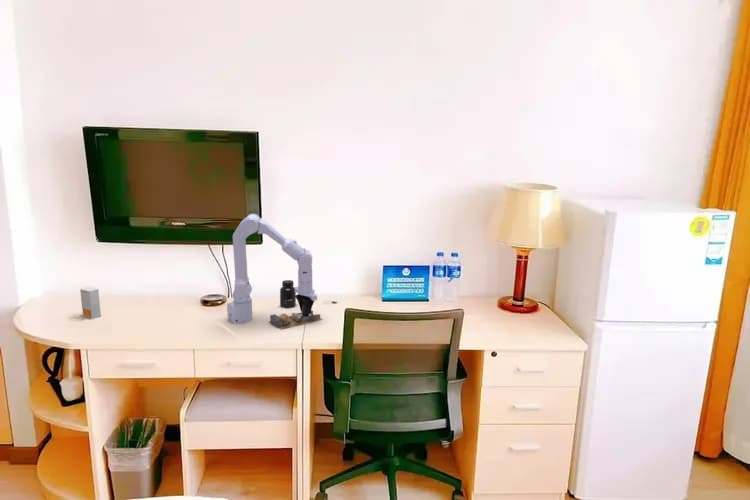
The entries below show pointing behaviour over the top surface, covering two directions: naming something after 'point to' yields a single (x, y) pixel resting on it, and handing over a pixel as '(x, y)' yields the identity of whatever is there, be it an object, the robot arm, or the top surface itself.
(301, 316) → the ram
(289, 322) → the bench
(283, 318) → the tan wooden ball
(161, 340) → the top surface
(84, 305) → the skincare box
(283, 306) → the supplement bottle
